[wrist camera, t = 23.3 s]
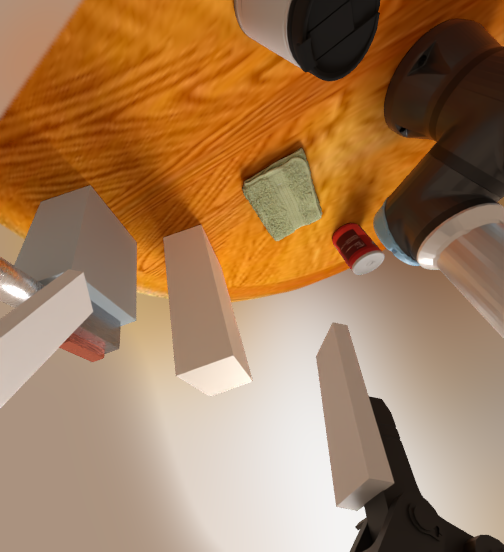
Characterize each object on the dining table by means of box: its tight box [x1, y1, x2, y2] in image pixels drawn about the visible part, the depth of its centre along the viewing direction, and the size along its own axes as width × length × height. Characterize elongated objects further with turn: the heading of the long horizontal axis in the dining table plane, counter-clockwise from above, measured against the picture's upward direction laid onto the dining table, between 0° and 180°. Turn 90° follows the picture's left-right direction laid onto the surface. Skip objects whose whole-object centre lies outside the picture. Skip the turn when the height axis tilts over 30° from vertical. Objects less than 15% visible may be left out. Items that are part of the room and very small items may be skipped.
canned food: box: [332, 223, 384, 275], centre depth 62 cm, size 8×8×11 cm
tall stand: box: [163, 225, 253, 397], centre depth 47 cm, size 8×14×28 cm, turn 11°
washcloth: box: [242, 148, 322, 241], centre depth 50 cm, size 13×18×3 cm
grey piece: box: [0, 257, 121, 362], centre depth 27 cm, size 4×22×6 cm, turn 11°
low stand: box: [14, 185, 137, 326], centre depth 38 cm, size 8×13×18 cm, turn 11°
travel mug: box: [234, 0, 380, 81], centre depth 23 cm, size 6×7×20 cm
